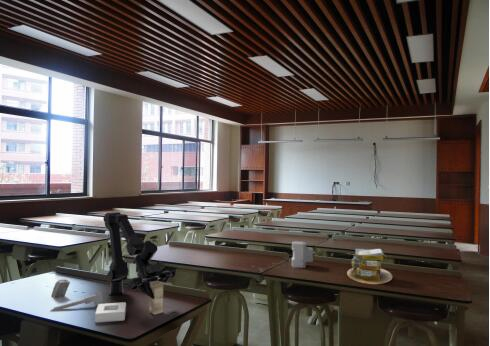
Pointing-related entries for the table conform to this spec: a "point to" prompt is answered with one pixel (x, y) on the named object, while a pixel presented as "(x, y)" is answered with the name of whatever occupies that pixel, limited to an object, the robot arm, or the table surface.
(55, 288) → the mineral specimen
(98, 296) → the caliper
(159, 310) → the birch peg
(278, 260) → the table surface
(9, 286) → the table surface
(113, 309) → the socket block
